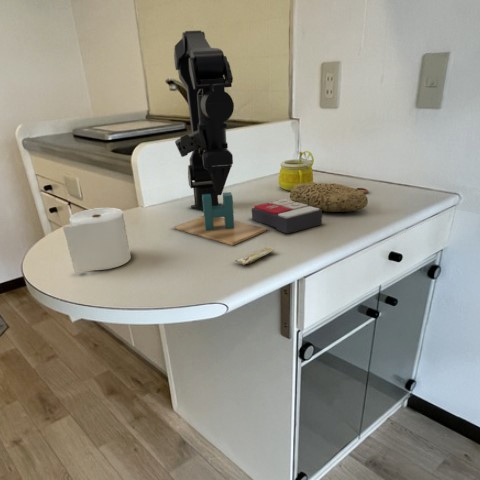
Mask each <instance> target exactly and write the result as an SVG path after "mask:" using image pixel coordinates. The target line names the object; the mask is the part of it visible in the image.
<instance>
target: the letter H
mask: <svg viewBox="0 0 480 480" xmlns="http://www.w3.org/2000/svg"><path fill="white" fill-rule="evenodd" d="M202 200H203V210H202V211H203V216H204V222H205V229H206V231H207V230H214V225H213V218H217V217H220V218H224V220H225V227H226V229H229V228H234V221H235V219H234V217H235V215H234V200H233V194H232V191H231V192H222V200H223V201H222V203H223V204H222V205H221V206H212V200H211V195H210V194H203V195H202Z"/></svg>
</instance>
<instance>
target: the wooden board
mask: <svg viewBox="0 0 480 480" xmlns="http://www.w3.org/2000/svg"><path fill="white" fill-rule="evenodd" d="M213 225H214V230H207V231H206V229H205V222H204V215H203V216H200V217H198V218H195V219H193V220H189V221H187V222H184V223H181V224H178V225H175V226H174V229H175V230H178V231H180V232H185V233H188V234H190V235H191V234H192V235H195V236H199V237H202V238H205V239H209V240H213V241H215V242H219V243H223V244H227V245H229V246H234V245H237V244H239V243H242V242H244V241H247V240H249V239H251V238H254V237H256V236H257V235H260V234H262V233H265V232H266V231H267V228H265V227H262V226H257V225H253V224H249V223H245V222H240V221H237V220H234V228H229V229H226V227H225V220H224V217H217V218H213Z"/></svg>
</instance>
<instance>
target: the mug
mask: <svg viewBox="0 0 480 480" xmlns="http://www.w3.org/2000/svg"><path fill="white" fill-rule="evenodd" d="M306 153H307V154H308V155H307V154H306ZM298 154H299V158H296V159H295V158H294V159H286V160H284V161H282V162H281V163H280V169H279V173H278V185H279V187H280V188H281V189H282V190H285V191H288V192H289V191H290V192H291V189H293V188H294V187H295V185H298V184H302V183H304V184H305V183H309V184H311V182H314V172H313V168H312V167H313V165H314V156H313V154H312V153H311V152H310V151H309V150H305V151H304V150H303V151H299V152H298ZM302 156H304V158H303V157H302ZM310 157H311V159H309V158H310Z"/></svg>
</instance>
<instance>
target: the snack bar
mask: <svg viewBox="0 0 480 480" xmlns="http://www.w3.org/2000/svg"><path fill="white" fill-rule="evenodd" d="M275 250H276V249H275V248H272V247H271V248H269V247H264V249H261V250H256V251H254V252H251V253H248V254H246V255H245V256H242V257H241V258H239V259H234V262H236V263H238V264H241V265H243V266H246V265H249V264H252V263H254V262H255V261H257V260H259V259H260V258H263V257H264V256H267V255H269V254H270V253H272V252H274V251H275Z"/></svg>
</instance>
